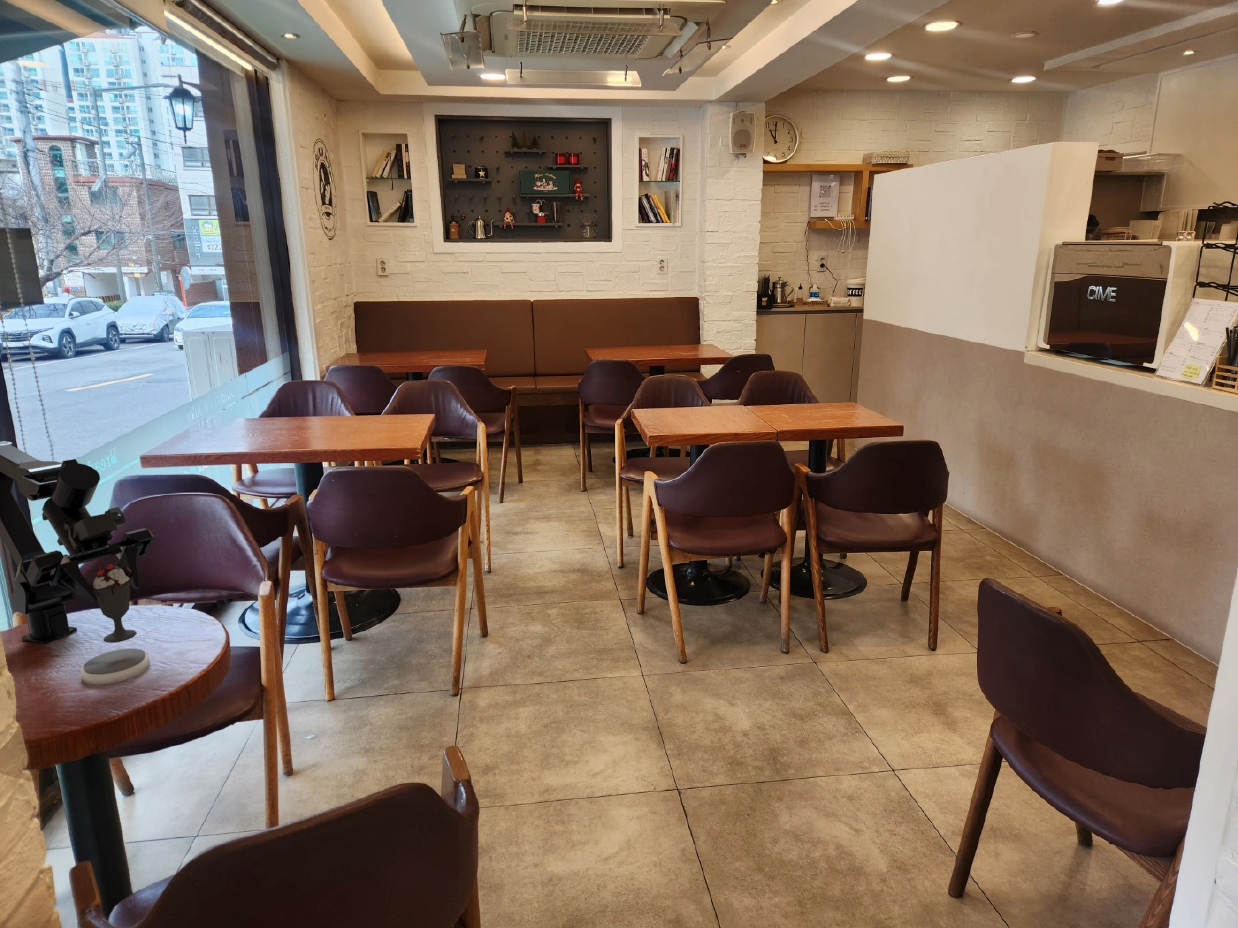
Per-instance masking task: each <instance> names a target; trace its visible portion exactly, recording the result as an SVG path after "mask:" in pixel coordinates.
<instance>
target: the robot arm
mask: <svg viewBox="0 0 1238 928" xmlns="http://www.w3.org/2000/svg"><path fill="white" fill-rule="evenodd" d="M100 477H101V476H100V473H99V472H98V470H97V469H94V468H93V467H92V466H89V465H87V464H84V463H79V462H78V460H77V459H76V458H72V459H66V460H62V461H61V462H59V461H55V460H39V459H38V458H35V457H34V456H32V455H30V454H29V453H26V452H24V451H22V450H21V449H19V448H17V447H15V445H14V444H13V442H11V441H6V440H3V441H1V440H0V537H1V539H2V541H3V542H4V545H5V546H6V548H7V549H8V551H9V553H10V555H11V557H12V559H13V560H14V563H15V564H16V567H17V570H16V573H15V578H14V582H13V583H14V585H15V587H14V590H13V593H12V594H11V597H10V604H11V606H12V609H13V611H15V612H17V613H19V614H22V615H23V616H24V615H25V616H26V621H27V626H28V627H27V628H28V631H29V633H27V634H25V635H22V636H21V640H22V641H28V642H32V643H33V642H34V643H38V644H39V643H40V644H48V643H49V642H52V641H54V640H57V639H59V638H62V637H64V636H67V635H69V634H72V633H74V632H77V631H78V627H76V626H70V625H69V619H68V614H67V610H66V605H65V603H66V602H70V601H71V602H72V601H74V600H75V597H76V596H75V595H76V594H77V595H78V596H80V597H82V598H83V599H85V600H87V601H89V602H90V603H93V604H95V603H97V602H98V601H97V597H96V595H95V593H94V591H93V590H92V588H91V587H90V585H89V584H90V583H89V582H88V581H87V579H86V578H85V577H84V575H83V574H82V571H81V568H80V566H79V565H83V564H87V563H89V562H93V561H97V560H98V559H101V560H102V559H104V558H108V557H112V556H116V557H117V559H118V562H117V564H116V567H119V568H120V569H121V567H122V566H123V565H125V566H126V567H127V568H129V569H130V571H131V574H130V576H129V577H134V579H133V581H132V582H131V584H130V587H132V588H134V590H138V589H139V588H140V581H139V580H140V579H139V578H140V577H139V574H138V573H139V572H138V567H137V566H138V564H137V563H138V561H137V559H139V558H142V557H144V556H145V555H147V554H148V552H149V550H150V548H151V546H152V545H153V543H154V541H155V538H156V537H155V536H154V535H153V533H152V531H151V530H150V529H148V528H143V527H142V528H139V529H135V530H132V531H128V532H124V533H123V535H122V538H121V540H120V541H119V542H115V543H112V544H111V543H110V544H109V543H108V542H109V541H112V540H113V539H112V538H113V537H114V536H113V532H115V531H118V530H119V527H121V526H123V525H124V524H126V523H127V519H126V516H125V514H124V512H123V511H122V509H121V508H120V507H119V506H116V507H112V508H108V509H107V510H105V511H104V513H100V514H97V515H91V513H90V512H89V511H88V509H87V507H86V506H87V505H89V504H90V502H91V501H92V500H93V496H94V494H95V492H96V490H97V488H98V486H99V482H100V481H101V478H100ZM14 481H16V482H17V484H18V490H19V492H20V493H21V494H22V495H23V496H24V497H25V498H26V499H28V500H30V501H31V502H34V501H35V502H36V501H39V500H40V501H41V500H44V499H46V501H45V502H44V504H43V507H42V512H41V513H42V514H41V518H42V520H43V521H48V522H49V524H50V526H51V527H52V529H53V530H54V532H55V534H56V535H57V537H58V538H57V541H56V542H57V544H58V546H59V547H60V546H64V548H65V550H66V551H67V553H68V554H66V553H65V554H63V552H62V551H60V550H52V551H50V552H49V551H48V552H46V551H45V550H44V548H43V545H42V544H41V543H40V541H39V539H38V537H37V535H36V533H35V532H34V530H33V528H32V526H31V524H30V523H29V521H28V519H27V518H26V515H25V514H24V512H23V510H22V508H21V507H20V505H19V503H18V501H17V500H16V497H15V496H14V494H13V492H12V490H13V485H14Z"/></svg>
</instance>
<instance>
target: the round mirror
mask: <svg viewBox="0 0 1238 928" xmlns="http://www.w3.org/2000/svg"><path fill="white" fill-rule="evenodd" d="M150 666H151V661H150V654H149V652H147V651H146V650H143V649H140V648H122V649H115V650H111V651H107V652H104V653H101V654H98V655H96V656H94V657H92V658H89V660H87V661H86V662H85V663H84V664H83V665H82V666H81V668H80V675H81V680H82V682H83V683H85V684H88V685H94V686H95V685H96V686H98V685H101V686H102V685H109V684H114V683H119V682H123V681H125V680H130V679H132V678H134V677H137V676H138V675H140V674H142V673H144V672H145V671H147V670H148V669H149V667H150Z"/></svg>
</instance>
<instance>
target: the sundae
mask: <svg viewBox="0 0 1238 928" xmlns="http://www.w3.org/2000/svg"><path fill="white" fill-rule="evenodd" d="M96 562H98V563H99V570H98V571H97V572H96V574H97V576H96V577H95V578H94V580H93V581H92V582H91V583H88V584H89V585H90V587H91V588H92V590H93V591H94V593H95V595H96V597H97V601H96V602H98V607H99V609H100V611H101V614H102V615H104V616H105V617H106V618H108V619H111V620H113V624H114V625H113V626H114V629H113V632H112V633H109V634H107V635H106V636H105V637H103V642H105V643H110V644H114V643H115V644H116V643H121V642H125V641H128V640H130V639H132V638H134V637H135V636H136V635H137V632H138V631H136V630H134V629H125V627H124V625H123V621H122V618H123V617H125V615H126V614H127V613H128V611H129V610H130V605H131V604H130V603H131V600H130V599H131V598H130V597H131V596H130V594H131V593H130V590H131V582H132V581H133V579H134V577H129V576H130V574H131V571H130V569H129V568H127V567H126V566H125V565H123V566H122V567H121V569H120V568H119V567H118V566H117V565H116V566H115V565H113V564H110V563H109V564H107V563H106V562H104V561H103V560H102V558H101V559H97V560H96ZM101 563H102V564H104V565H106V566H105V567H104V568H103V569H102V566H101Z"/></svg>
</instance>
